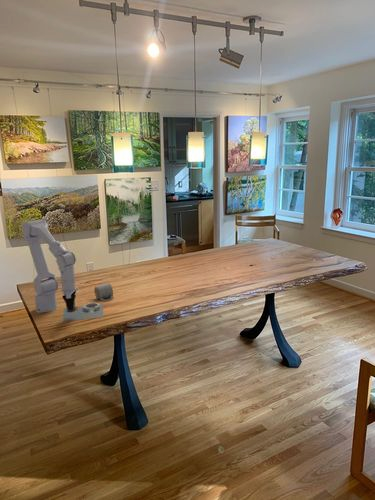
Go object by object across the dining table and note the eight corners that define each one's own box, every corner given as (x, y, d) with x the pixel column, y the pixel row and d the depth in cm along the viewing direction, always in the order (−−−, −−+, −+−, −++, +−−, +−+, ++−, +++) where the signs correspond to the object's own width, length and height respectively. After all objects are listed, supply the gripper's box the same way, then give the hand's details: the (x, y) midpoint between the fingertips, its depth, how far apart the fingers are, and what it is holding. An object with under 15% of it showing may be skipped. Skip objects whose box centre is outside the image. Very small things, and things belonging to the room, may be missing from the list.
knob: (66, 312, 170) (65, 300, 169) (66, 309, 174) (65, 297, 172) (77, 311, 171) (76, 299, 170) (77, 308, 175) (76, 296, 174)
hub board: (62, 323, 168) (62, 318, 168) (64, 310, 183) (63, 305, 183) (103, 318, 173) (103, 313, 172) (102, 305, 188) (101, 301, 187)
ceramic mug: (94, 297, 199) (93, 283, 197) (109, 294, 203) (108, 281, 201) (100, 304, 190) (99, 289, 188) (116, 300, 194) (115, 286, 192)
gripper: (77, 283, 163) (79, 312, 166) (77, 273, 176) (80, 301, 180) (59, 285, 161) (63, 314, 164) (61, 275, 175) (64, 302, 178)
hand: (70, 307), depth 172 cm, fingers closed on knob, 4 cm apart
